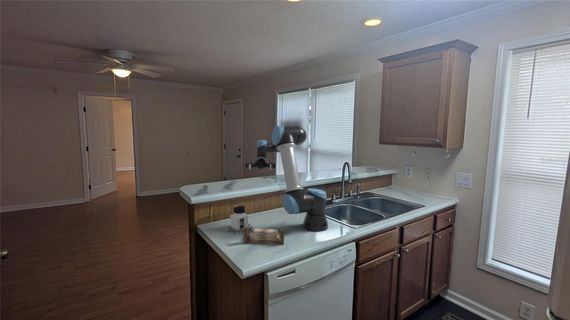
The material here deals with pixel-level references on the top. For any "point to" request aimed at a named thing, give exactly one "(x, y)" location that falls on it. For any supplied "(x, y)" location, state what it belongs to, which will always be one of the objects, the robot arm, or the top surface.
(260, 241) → the walnut rack
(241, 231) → the rubber mat
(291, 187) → the robot arm
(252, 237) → the offcut stack
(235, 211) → the container
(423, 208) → the top surface
